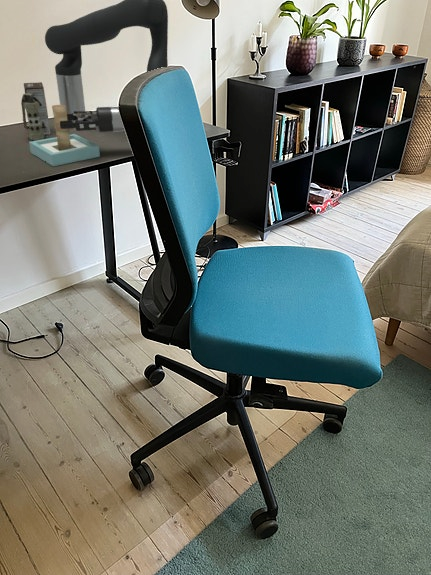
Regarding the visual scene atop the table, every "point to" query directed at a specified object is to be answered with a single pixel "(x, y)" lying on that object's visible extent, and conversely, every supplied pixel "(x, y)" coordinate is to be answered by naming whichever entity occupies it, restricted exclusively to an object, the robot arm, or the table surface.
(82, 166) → the table surface
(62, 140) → the peg
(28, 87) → the coffee box
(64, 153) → the socket box
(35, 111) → the grenade model
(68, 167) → the table surface
